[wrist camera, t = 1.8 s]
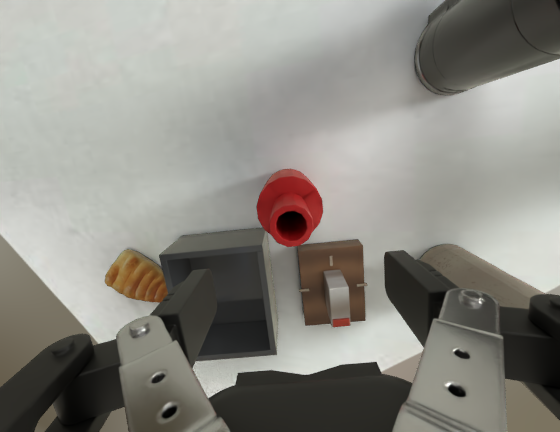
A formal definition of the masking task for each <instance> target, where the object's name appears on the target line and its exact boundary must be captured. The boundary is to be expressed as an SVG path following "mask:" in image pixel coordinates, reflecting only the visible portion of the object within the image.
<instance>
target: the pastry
mask: <svg viewBox="0 0 560 432" xmlns="http://www.w3.org/2000/svg"><path fill="white" fill-rule="evenodd" d="M105 277H106V278H105V283H106V284H107V286H110V287H112V288H113V289H115V290H116V291H117V292H119V293H121V294H124V295H125V296H126V297H128V298H132V299H136V300H142V301H149V302H158V303H160V302H162V301H163V299H164V298H165V296H167V294H168V291H167V287H166V283H165V279H164V274H163V271H162V270H161V268H160V266H159V265H158V264H155V263H154V262H153V261H152V260H150V259H149V258H147V257H145V256H143V255H142V254H141V253H139V252H137V251H133V250H129V249H127V250H124V251H123V252H122V253H121V254H120V255H119V256H118V258H117V260H116V261H115V262H114V263H113V264H112V266H111V267H110V269H109V270H108V272H107V274H106V276H105Z"/></svg>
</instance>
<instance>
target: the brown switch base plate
mask: <svg viewBox="0 0 560 432" xmlns="http://www.w3.org/2000/svg"><path fill="white" fill-rule="evenodd" d="M297 249H298V259H299V269H300V279H301V289H299V291H300V292H302V299H303V309H304V318H305V325H306V326H307V325H319V324H330V323H331V322H330V318H329V314H328V310H327V307H326V298H325V285H324V271H329V270H341V272H342V274H343V277H344V279H345V281H346V283H347V285H348V287H349V305H350V322H354V321H365V293H364V286H367V283H364V265H363V245H362V244H361V243H360V241H359V240H358V239H357V240H347V241H337V242H327V243H317V244H306V245H299V246H297Z"/></svg>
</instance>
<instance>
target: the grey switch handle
mask: <svg viewBox="0 0 560 432" xmlns="http://www.w3.org/2000/svg"><path fill="white" fill-rule="evenodd" d="M324 285H325V298H326V307H327V310H328V314H329V318H330V322H331V325H332V327H341V326H350V325H351V324H350V305H349V287H348V285H347V283H346V281H345V279H344V277H343V274H342V272H341V270H329V271H324Z"/></svg>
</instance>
